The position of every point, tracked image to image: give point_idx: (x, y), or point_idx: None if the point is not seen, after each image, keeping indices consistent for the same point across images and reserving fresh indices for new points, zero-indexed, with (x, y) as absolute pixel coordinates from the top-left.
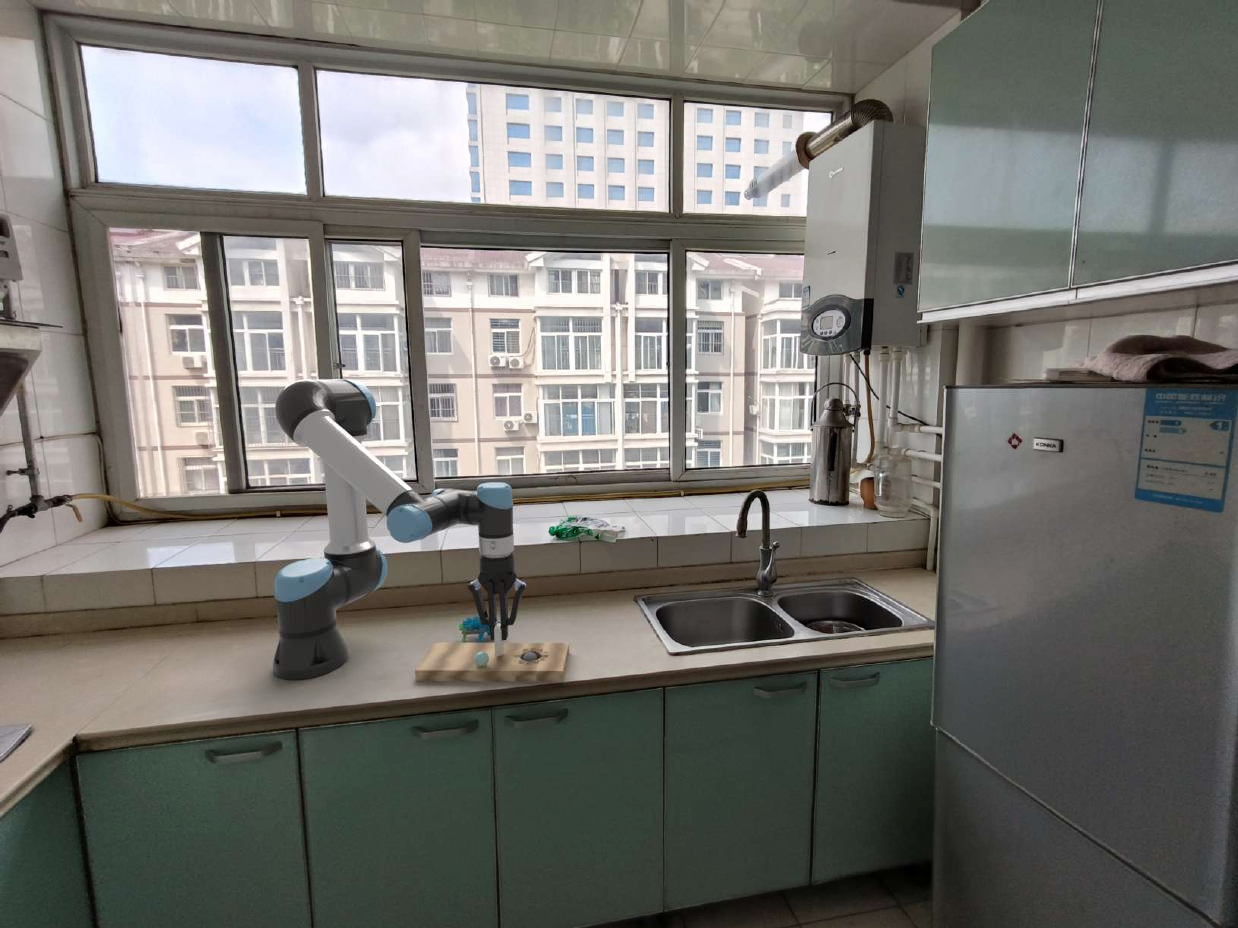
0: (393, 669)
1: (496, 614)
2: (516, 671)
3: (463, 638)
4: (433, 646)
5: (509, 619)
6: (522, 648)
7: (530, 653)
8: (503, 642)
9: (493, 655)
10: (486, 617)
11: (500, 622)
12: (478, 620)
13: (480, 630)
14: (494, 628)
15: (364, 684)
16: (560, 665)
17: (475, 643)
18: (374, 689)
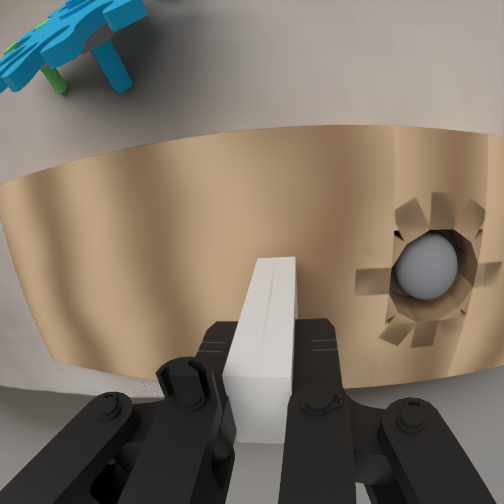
0: (2, 283)
1: (202, 468)
2: (378, 384)
3: (51, 81)
4: (2, 217)
5: (373, 501)
6: (388, 196)
7: (440, 284)
8: (295, 289)
9: (247, 280)
10: (126, 453)
11: None
12: (37, 65)
13: (87, 47)
14: (241, 441)
15: (8, 338)
16: None
17: (108, 162)
18: (32, 359)
